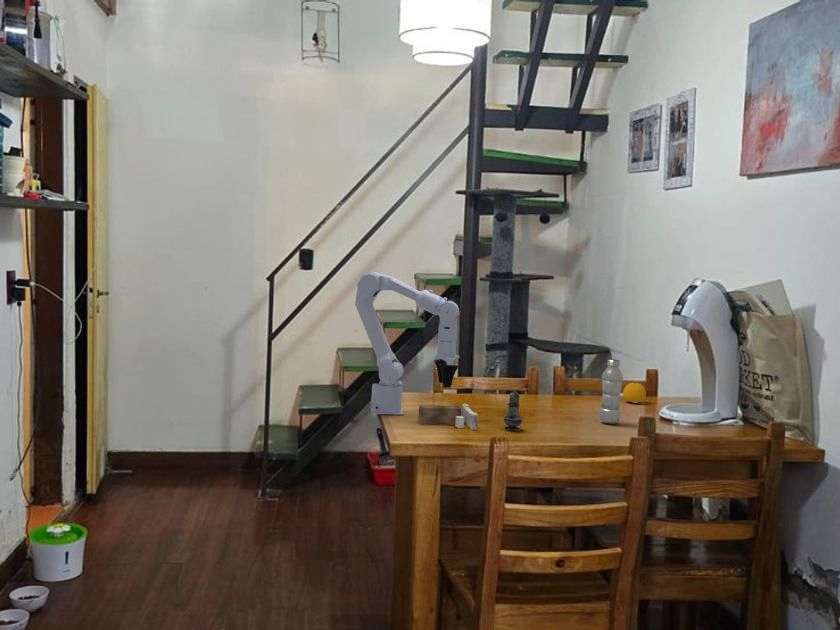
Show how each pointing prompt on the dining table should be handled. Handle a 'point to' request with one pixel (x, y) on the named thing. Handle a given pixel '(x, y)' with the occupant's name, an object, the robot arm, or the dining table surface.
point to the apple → (634, 392)
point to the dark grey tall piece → (513, 413)
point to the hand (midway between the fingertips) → (444, 385)
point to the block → (438, 414)
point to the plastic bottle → (611, 393)
